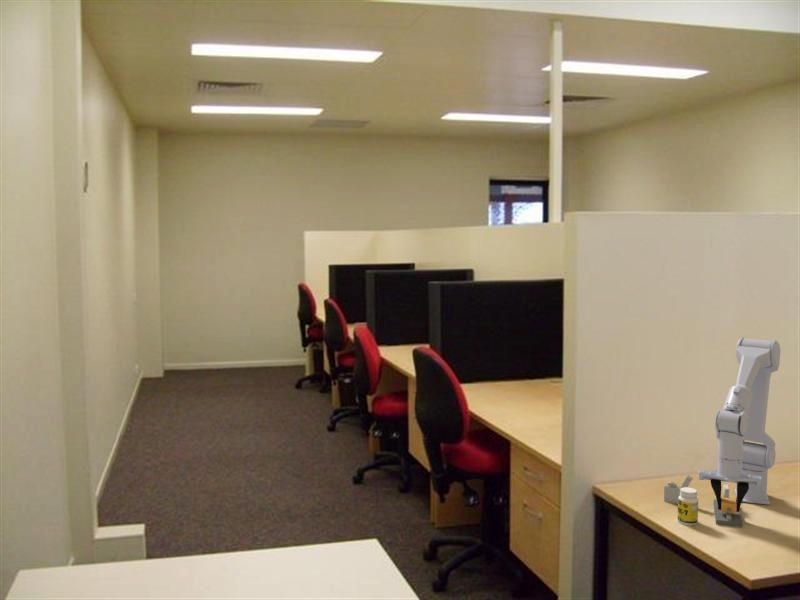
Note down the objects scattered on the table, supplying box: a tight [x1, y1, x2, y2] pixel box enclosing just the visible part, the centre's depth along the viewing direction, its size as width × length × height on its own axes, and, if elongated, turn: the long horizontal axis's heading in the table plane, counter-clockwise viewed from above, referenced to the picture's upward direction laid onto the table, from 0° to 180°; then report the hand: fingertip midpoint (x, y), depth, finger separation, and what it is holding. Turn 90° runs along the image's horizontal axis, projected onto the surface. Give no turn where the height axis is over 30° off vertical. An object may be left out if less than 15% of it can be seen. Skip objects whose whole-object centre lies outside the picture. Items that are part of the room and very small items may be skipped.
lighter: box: [663, 474, 694, 505], centre depth 201 cm, size 7×2×8 cm, turn 55°
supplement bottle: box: [677, 486, 699, 526], centre depth 188 cm, size 5×5×8 cm
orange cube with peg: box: [721, 496, 737, 513], centre depth 189 cm, size 5×4×2 cm, turn 159°
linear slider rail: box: [713, 484, 743, 528], centre depth 192 cm, size 15×6×6 cm, turn 159°
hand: (728, 509), depth 189 cm, fingers closed on orange cube with peg, 3 cm apart
